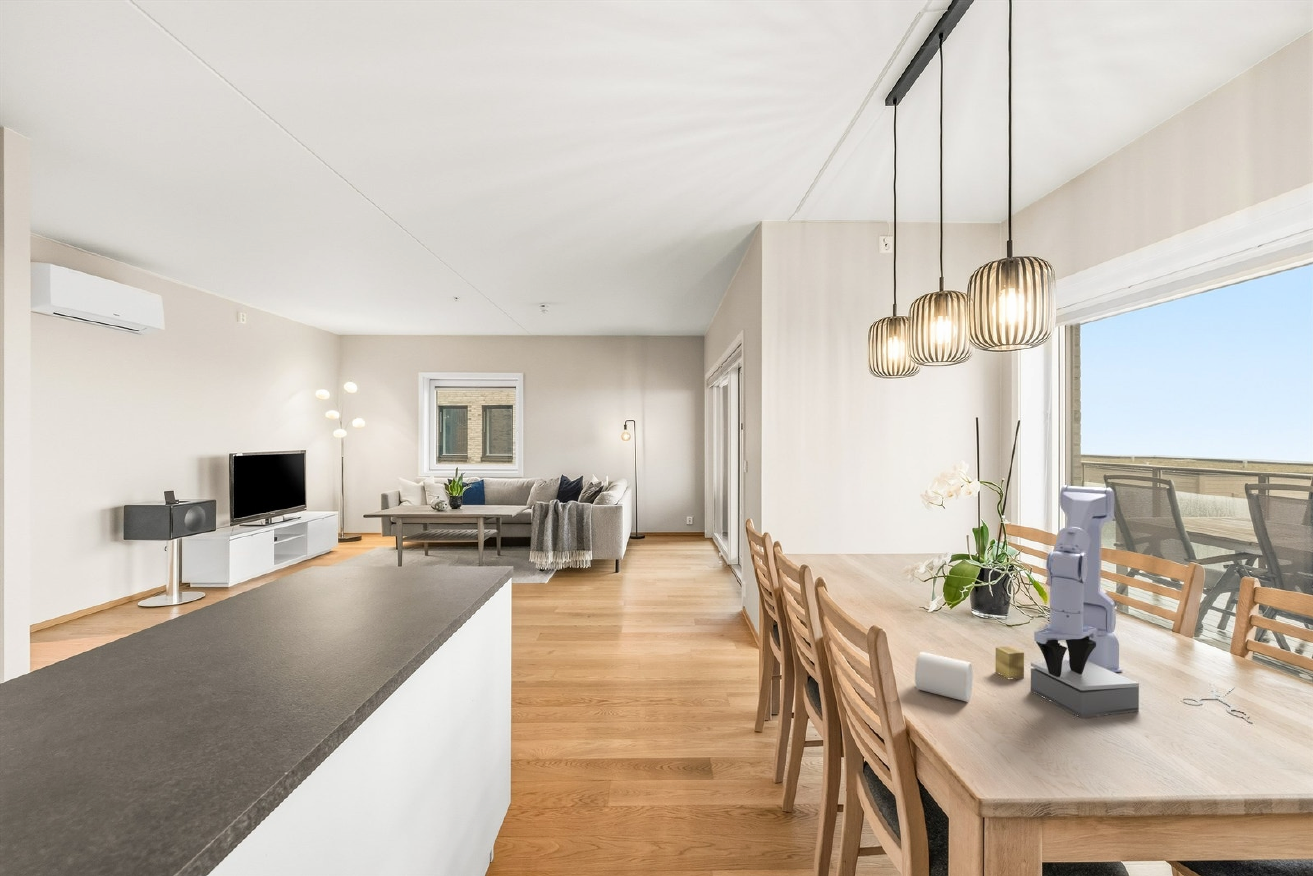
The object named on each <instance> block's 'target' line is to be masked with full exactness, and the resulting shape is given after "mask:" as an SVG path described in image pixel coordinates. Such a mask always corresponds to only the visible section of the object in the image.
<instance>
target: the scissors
mask: <svg viewBox="0 0 1313 876" xmlns="http://www.w3.org/2000/svg"><path fill="white" fill-rule="evenodd" d="M1209 683H1210V684H1209V685H1210V690H1211V693H1213V694H1211V695H1209V696H1207V697H1199V698H1194V697H1193V698H1192V697H1181V698H1180V701H1181V700H1183V699H1191V701H1193V700H1201V701H1199V702H1198V701H1197V702H1196V703H1195V702H1194V703H1191V702H1187V701H1185V703H1187V705H1189V704H1190V706H1195V705H1198V706H1202V705H1203V702H1202V701H1206V700H1205V699H1213V700H1212V701H1218V700H1220V701H1222V702H1224V703H1225V704H1224V703H1223V704H1224V705H1226V704H1227V705H1229V706H1230V707H1229V706H1228V707H1229V708H1226V709H1225V711H1226V710H1227V711H1228V712H1229V713H1228V712H1227V711H1226V712H1227V713H1228V714H1230V713H1231V714H1230V715H1232V714H1235V712H1233V711H1231V710H1239V709H1238V708H1235V707H1234V706H1233V704H1231V703H1228V702H1226V701H1225V699H1224V697H1225V695H1223V694H1222V696H1224V697H1223V698H1221V697H1220V696H1221V694H1220V693H1218V692H1219V691H1218V690H1217V688H1216V687H1215V685H1214V684H1213V683H1212V682H1211V681H1209ZM1230 689H1231V688H1230ZM1231 690H1232V689H1231ZM1231 690H1228V689H1227V690H1225V691H1231ZM1212 691H1213V692H1212ZM1214 691H1218V692H1217V693H1216V692H1214ZM1232 691H1233V690H1232ZM1227 695H1228V694H1226V696H1227ZM1202 699H1204V700H1202ZM1220 701H1219V702H1220ZM1222 702H1221V703H1222ZM1185 703H1184V704H1185ZM1201 704H1202V705H1201ZM1227 705H1226V706H1227ZM1242 711H1243V710H1242ZM1243 712H1245V714H1249V713H1248V712H1246V711H1243ZM1245 714H1244V715H1245ZM1246 717H1248V716H1246ZM1246 717H1243V718H1244V719H1248V718H1246ZM1243 718H1242V719H1243ZM1244 719H1243V720H1244ZM1247 721H1248V722H1250V723H1249V724H1252V723H1253V721H1252V720H1250V719H1249V720H1247ZM1247 721H1246V722H1247ZM1248 722H1247V723H1248Z"/></svg>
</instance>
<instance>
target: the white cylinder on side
mask: <svg viewBox="0 0 1313 876" xmlns="http://www.w3.org/2000/svg"><path fill="white" fill-rule="evenodd" d="M973 674H974V673H973V665H972V663H971V662H969V661H967V660H966V661H965V660H961V659H956V658H952V657H951V658H950V657H946V656H941V655H938V654H934V653H933V654H932V653H928V652H924V651H920V652H919V653H918V655H917V657H916V662H915V670H914V681H915V687H916V689H917V690H919V691H923V692H928V693H931V694H934V695H939V696H943V697H947V698H951V699H954V700H959V701H963V702H965V703H968V702H969V701H970V699H971V697H972V691H973V677H974V675H973Z"/></svg>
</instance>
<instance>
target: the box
mask: <svg viewBox="0 0 1313 876" xmlns="http://www.w3.org/2000/svg"><path fill="white" fill-rule="evenodd" d="M1031 691H1033V692H1035V693H1037V694H1038V696H1039V695H1040V696H1039V697H1041V696H1043V697H1045V698H1046V699H1047V700H1046V699H1045V700H1046V701H1048V700H1051V701H1052V702H1053V703H1052V702H1051V703H1052V704H1054V703H1055V704H1056V705H1055V704H1054V705H1055V706H1057V705H1059V706H1061V707H1062V709H1063V708H1064V709H1063V710H1065V711H1067V710H1068V711H1070V712H1071V713H1070V712H1069V713H1070V714H1072V713H1073V714H1072V715H1074V714H1076V715H1078V716H1079V717H1078V716H1077V717H1078V718H1080V719H1084V718H1083V717H1087V718H1092V717H1091V716H1095V717H1098V716H1097V715H1104V716H1107V715H1106V714H1112V715H1119V714H1118V713H1121V714H1126V713H1128V712H1129V713H1135V711H1138V712H1140V705H1139V704H1140V703H1139V702H1140V686H1139V687H1131V688H1114V689H1098V690H1079V689H1077V688H1075V687H1073V686H1071V685H1069V684H1067V683H1065V682H1063V681H1061V680H1058V679H1056V678H1054V677H1052V676H1050V675H1048V674H1046V673H1044V672H1042V671H1040V670H1038V669H1036V668H1034V667H1032V668H1030V692H1031ZM1033 692H1032V693H1033ZM1035 693H1034V694H1035ZM1037 694H1036V695H1037ZM1059 706H1058V707H1059ZM1061 707H1060V708H1061ZM1068 711H1067V712H1068ZM1116 713H1117V714H1116ZM1129 713H1128V714H1129ZM1076 715H1075V716H1076Z"/></svg>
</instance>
